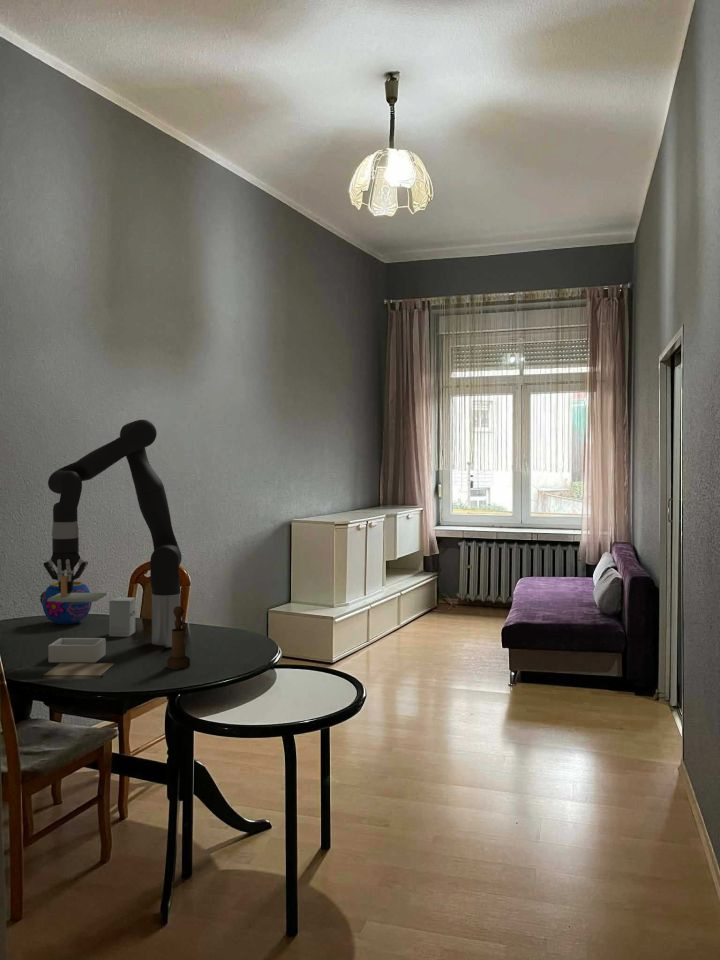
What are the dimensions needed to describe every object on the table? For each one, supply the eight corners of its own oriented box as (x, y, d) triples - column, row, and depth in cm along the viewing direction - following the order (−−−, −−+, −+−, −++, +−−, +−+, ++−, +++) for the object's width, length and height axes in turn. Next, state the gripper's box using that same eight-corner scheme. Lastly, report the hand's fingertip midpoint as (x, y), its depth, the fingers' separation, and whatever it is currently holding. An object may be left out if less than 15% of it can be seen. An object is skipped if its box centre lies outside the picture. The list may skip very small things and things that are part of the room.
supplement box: (129, 636, 282) (129, 600, 282) (108, 636, 283) (108, 600, 282) (136, 632, 290) (136, 597, 289) (115, 632, 290) (115, 596, 290)
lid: (106, 597, 253) (106, 573, 253) (96, 603, 242) (96, 578, 242) (60, 597, 253) (59, 573, 252) (47, 603, 242) (47, 578, 242)
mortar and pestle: (167, 670, 238) (167, 609, 238) (166, 664, 245) (166, 605, 244) (190, 668, 240) (190, 608, 240) (189, 663, 247) (189, 604, 246)
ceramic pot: (72, 617, 317) (72, 578, 317) (101, 622, 307) (101, 582, 307) (32, 624, 303) (31, 584, 302) (61, 630, 293) (61, 588, 292)
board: (114, 666, 242) (114, 663, 242) (100, 678, 229) (100, 675, 229) (60, 666, 242) (60, 663, 242) (43, 678, 229) (43, 675, 229)
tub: (105, 657, 253) (105, 638, 253) (95, 665, 243) (95, 645, 243) (60, 657, 253) (60, 638, 253) (48, 665, 243) (48, 645, 243)
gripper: (92, 535, 251) (92, 591, 251) (47, 535, 251) (48, 591, 251) (84, 537, 243) (84, 595, 244) (38, 537, 243) (38, 595, 244)
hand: (66, 593), depth 247 cm, fingers closed on lid, 1 cm apart
